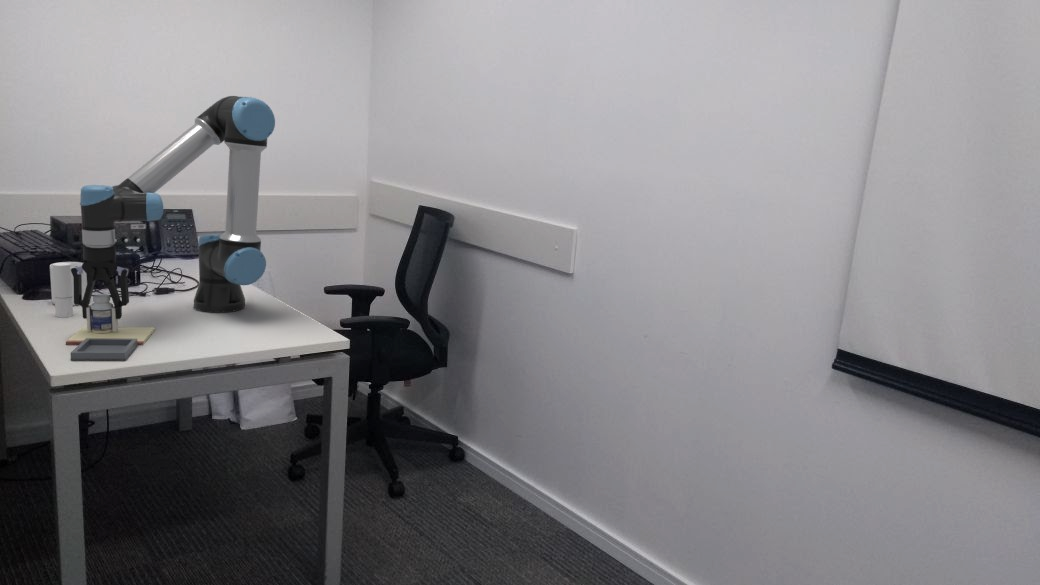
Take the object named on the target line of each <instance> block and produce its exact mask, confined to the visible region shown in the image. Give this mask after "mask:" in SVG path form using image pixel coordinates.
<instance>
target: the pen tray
mask: <svg viewBox="0 0 1040 585" xmlns="http://www.w3.org/2000/svg"><path fill="white" fill-rule="evenodd" d="M136 347H139V345H138V339H119V338H86V339H85V340H84V341H83V342H82V343H81V344H79V345H76V347H75V348H73V350H71V351H70V361H71V360H73V361H74V362H79V361H80V362H83V361H84V360H89V361H90V360H91V361H90V362H92V360H93V361H95V362H103V361H105V362H106V361H108V362H109V361H110V362H111V361H113V362H115V361H116V362H124V361H125V362H126V360H128V358H129V357H130V356H131V355H132V354H133V352H134V351H135V350H136V349H137V348H136ZM135 348H136V349H135ZM130 354H131V355H130ZM77 360H78V361H77ZM82 360H83V361H82ZM89 361H88V362H89Z"/></svg>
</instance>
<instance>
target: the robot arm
mask: <svg viewBox="0 0 1040 585" xmlns="http://www.w3.org/2000/svg"><path fill="white" fill-rule="evenodd" d="M275 127H276V119H275V115H274V112H273V110H272V109H271V107H270V106H269V105H268V104H267V103H266V102H265V101H263V100H261V99H259V98H257V97H252V96H238V95H228V96H226V97H223V98H220V99H219V100H217V101H216V102H214V103H213V104H212V105H210V106H209V107H207V109H206V110H204V111H203V112H201V113H200V115H198V116H196V118H194V124H193V125H192V126H191V127H189V128H188V129H186V130H185V131H184V132H182V133H181V134H180V135H179V136H178V137H177V138H176V139H174V141H172V142H171V143H169V144H168V145H167V146H165V147H164V148H163V149H162V150H161V151H159V152H158V153H157V154H156V155H154V156H153V157H152V158H151V159H150V160H148V161H146V163H145V164H143V165H142V166H141V167H140V168H138V169H137V170H136V171H135V172H133V173H132V174H131V175H129V176H128V177H127V178H125V179H123V181H122V182H120V183H119V184H118V185H111V186H110V185H106V184H105V185H104V184H87V185H84V186H82V187H81V188H80V202H79V205H80V213H81V216H80V218H81V234H82V235H81V236H82V237H81V238H82V244H83V246H82V255H83V256H82V258H83V262H82V263H83V264H82V266H79V267H77V266H75V267H74V268H72V269H71V272H72V275H73V279H74V304H75V305H77V306H80V307H81V311H82V318H83V320H85V319H86V327H87V332H91V331H92V323H91V305H92V304H91V305H90V303H91V299H92V297H93V296H92V295H93V291H94V288H95V284H96V281H103V282H105V284H106V287H107V289H108V291H109V292H108V293H109V295H110V299H111V301H112V304H113V308H112V329H113V332H116V331H117V330H118V327H119V320H121V318H123V317H122V316H123V312H122V311H123V310H122V309H123V308H122V307H124V306H127V305H128V304H129V303H130V297H129V296H130V295H129V284H128V282H129V281H128V275H129V272H130V269H129V268H128V267H121V266H119V264H118V263H117V255H116V254H117V252H116V250H117V249H116V246H115V244H116V230H115V227H116V226H115V223H121V222H150V221H152V222H153V221H159V220H161V218H162V217H163V216H164V215H163V214H164V202H163V199H162V197H161V195H160V194H159V193H157V191H159V190H160V189H161V188H162V187H164V186H165V185H166V184H167V183H168V182H170V181H171V180H172V179H173V178H175V177H176V176H177V175H178V174H179V173H181V172H182V171H184V170H185V169H186V168H187V167H188V166H189V165H190V164H191V163H193V162H194V161H196V159H198V158H199V157H201V156H202V155H203V154H204V153H206V151H207V150H209V149H211V147H213V146H214V145H218V146H219V145H221V144H222V143H223V142H224V144H225V145H226V147H228V150H229V151H228V152H229V156H228V171H227V174H228V175H227V196H226V210H225V211H226V214H225V228H224V232H223V233H214V234H213V233H211V234H202V235H200V237H198V245H197V247H198V273H199V283H198V287H197V288H196V289H197V290H196V293H195V295H194V299H193V308H194V309H195V310H197V311H199V312H200V311H201V312H206V313H229V312H230V313H231V312H236V311H240V310H243V309H244V308H246V297H245V295H244V292H243V289H242V286H249V285H252V284H254V283H256V282H257V281H259V280H260V278H262V277H263V275H264V273H265V271H266V269H267V268H266V267H267V260H266V259H267V258H266V257H265V255H264V254H263V252H262V251H261V250H262V247H261V246H262V239H261V238H260V237H259V235H257V224H258V206H259V205H258V204H259V188H260V174H261V160H262V159H261V158H262V157H261V156H262V152H263V151H264V150H265V149H267V147H268V138H269V137H270V136H271V135H272V134H273V132H274V130H275ZM83 270H84V271H85V272H86V274H87V276H88V277H87V286H86V290H85V294H84V297H83V300H82V277H81V274H82V273H83ZM116 272H117V274H118V276H119V284H120V294H119V291H118V288H117V286H116V283H115V278H114V274H116Z"/></svg>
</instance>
